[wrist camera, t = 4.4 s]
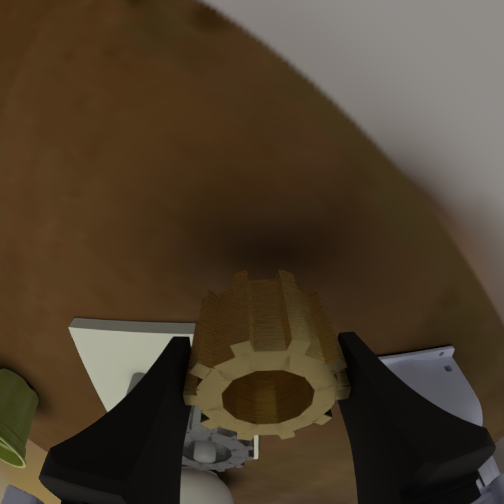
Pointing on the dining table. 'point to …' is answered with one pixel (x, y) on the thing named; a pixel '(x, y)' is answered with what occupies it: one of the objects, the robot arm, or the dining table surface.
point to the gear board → (129, 360)
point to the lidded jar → (203, 487)
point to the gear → (227, 445)
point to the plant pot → (15, 417)
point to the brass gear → (265, 359)
